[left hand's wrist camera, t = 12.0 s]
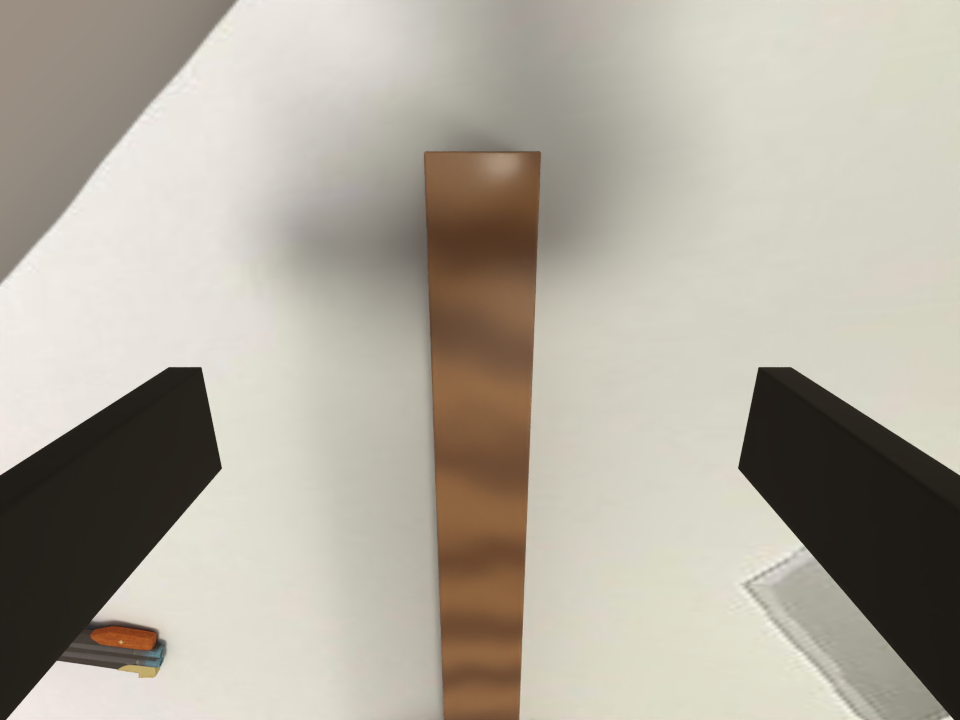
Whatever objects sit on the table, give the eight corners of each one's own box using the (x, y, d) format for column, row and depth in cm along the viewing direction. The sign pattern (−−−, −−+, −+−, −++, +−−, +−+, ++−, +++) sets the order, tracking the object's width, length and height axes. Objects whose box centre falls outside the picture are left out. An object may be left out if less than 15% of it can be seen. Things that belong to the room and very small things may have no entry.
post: (436, 154, 32) (423, 151, 25) (526, 155, 32) (540, 151, 25) (453, 766, 52) (449, 867, 45) (508, 766, 52) (513, 867, 45)
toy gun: (-95, 556, 40) (-96, 661, 42) (165, 593, 43) (152, 689, 45) (-63, 536, 42) (-65, 635, 45) (180, 572, 45) (166, 664, 48)
